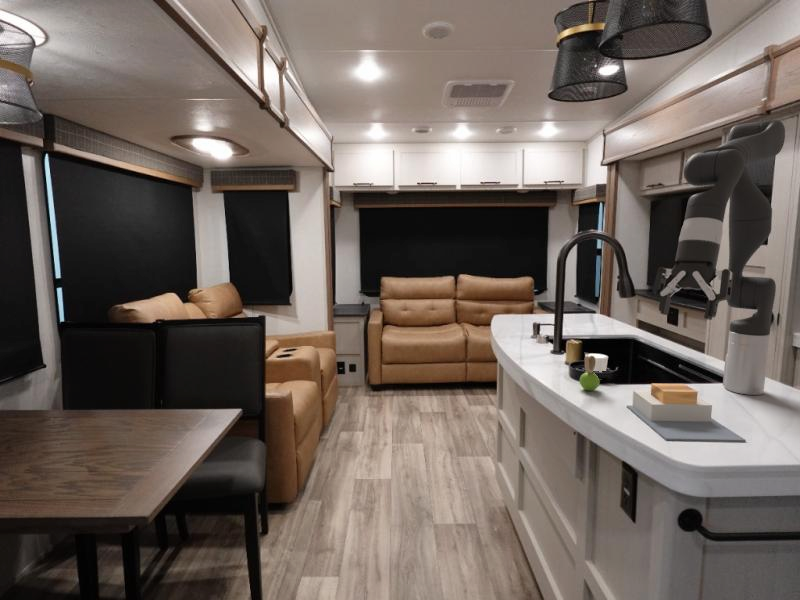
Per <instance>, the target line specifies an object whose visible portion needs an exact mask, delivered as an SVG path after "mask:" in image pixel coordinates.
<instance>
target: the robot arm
mask: <svg viewBox="0 0 800 600" xmlns="http://www.w3.org/2000/svg"><path fill="white" fill-rule="evenodd" d="M785 139H786V128H785V125H784V123H783V122H782V121H781V120H778V119H767V120H761V121H753V122H747V123H742V124H736V125H734V126H733V127H732V128H731V129H730V131H729V133H728V137H727V142H724V143H723V144H721V145H719V146H718V147H715V148H710V149H705V150H703V151H699V152H696V153H694V154H692V155H691V156H689V158H688V159H687V161H686V162H685V164H684V166H683V176H684V177H683V178H684V180H685V182H687V183H688V184H689V185H691V186H695V187H701V186H702V187H703V186H712V187H711V188H710V189H708V190H704V191H701V192H699V193H695V194H692V195H691V196H690V197H689V198H688V201H687V206H686V210H685V215H684V221H683V225H682V227H681V230H680V233H679V237H678V244H677V250H676V253H675V260H674V261H675V262H674V266H673V267H672V268H665V267H663V266H659V267H658V268H657V272H656V276H655V279H654V283H653V288H652V293H654V294H657V295H658V296H660V300H659V304H658V305H659V306H658V310H659V312H660V314H661V315H664V316H668V315H669V312H670V307H671V302H672V299H671V297H672V296H674V294H675V293H677V292H679V291H680V290H681V289H684V290H695V291H701V290H702V291H703V292H704V294H705V295H706V297H707V298H708V300H707V301H706V305H705V310H704V314H703V315H704V316H703V317H704V320H708V321H712V320H713V318H716V316H717V312H718V306H719V303H720V302H722V301H726V302H727V303H726V304H727V305H728V306H729V307H731V308H734V309H746V310H755V311H756V313H755V314H754V315H752V316H748V317H746V318H742V319H735V320H733V321H731V322H730V323H729V330H728V331H729V332H728V345H727V354H725V360H724V366H723V367H724V368H723V369H724V370H723V371H724V372H723V378H722V385H723V386H724V388H725V389H726V390H728V391H730V392H733V393H736V394H737V393H738V394H742V395H747V396H748V395H749V396H761V395H764V393H765V384H766V375H767V374H766V373H767V363H768V358H769V357H768V356H769V344H770V333H771V324H772V318H773V317H772V315H773V309H774V303H775V298H776V293H777V292H776V290H777V289H776V287H777V286H776V285H777V284H776V281H775V280H774V279H773V278H772V277H763V276H761V277H760V276H759V277H758V276H744V275H743V272H744V268H745V266H746V264H747V263H748V262H749V261H750V259H751V258H752V257H753V255H754V254H755V253H756V252H757V250H758V249H759V248H760V247H762V245H763V244H764V243H765V241H767V239H768V237H769V236H770V235H771V233H772V219H773V208H772V207H773V206H772V204H771V202H770V201H769V200H768V199H767V197H766V196H765V195H764V194H763V192H762V191H761V190H760V189H759V187H758V186H757V184H756V183H755V182H754V181H753V180H752V178H751V175H750V172H749V169H748V165H750V164H753V163H755V162H758V161H760V160H764V159H765V160H766V159H769V158H773V157H776V156H777V155H778V154H779V153H780V152H782V149H783V147H784V144H785ZM728 202H729V207H728V208H729V209H728V210H729V211H728V246H729V247H728V251H729V252H728V253H729V254H728V255H729V256H728V257H729V258H728V268H724V269H722V270H717V264H718V259H719V253H720V248H721V244H722V237H723V233H724V232H723V230H724V229H723V226H724V219H725V214H726V210H727V209H726V208H727V205H728ZM670 275H671V276H672V277H673V278H672V280H671V281H670V282H669V283H666V282H667V279H668V278H669V277H670ZM716 277H717V279H718V280H719V281H720V286H719V293H717V292H716V290H715V288H714V287H713V285H712V283H711V282H712V281H713V280H715V279H716ZM666 284H667V285H666ZM665 286H666V287H665Z"/></svg>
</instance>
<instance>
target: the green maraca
mask: <svg viewBox="0 0 800 600" xmlns="http://www.w3.org/2000/svg"><path fill="white" fill-rule="evenodd" d="M586 354H587V356H586V357H585V355H586ZM588 354H589V352H584V370H585V372H584V373H582V374H581V375H580V377H579V384H580V387H582V389H583V390H585V391H590V392H591V391H594V390H596V389H598V388H599V385H600V382H601V381H600V379H599V378H598V376H597V375H596V374H595V373H592V372H593V370H594V367H595V362H596V361H595V357H594V356H589V357H588Z"/></svg>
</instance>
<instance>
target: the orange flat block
mask: <svg viewBox="0 0 800 600" xmlns="http://www.w3.org/2000/svg"><path fill="white" fill-rule="evenodd" d="M650 391H651V395H652V396H653V397H655V398H656V399H657V400H659V401H660V402H662V403H686V404H697V397H698V393H699V391H697V390H696V389H693V388H692V387H690V386H688V385H686V384H685V383H651V386H650Z"/></svg>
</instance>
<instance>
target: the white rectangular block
mask: <svg viewBox="0 0 800 600" xmlns="http://www.w3.org/2000/svg"><path fill="white" fill-rule="evenodd" d="M632 406H634V407H635V408H636V409H637V410H639V411H640V412H641V413H642V414H643V415H645V416H646V417H647V418H648V419H649V420H651V421H703V422H711V418H712V412H713V411H712V410H713V404H711V403H710V402H707V401H706V400H704V399H703V398H701V397H699V396H697V404H686V403H662V402H660V401H659V400H657V399H656V398H655V397H653V396H652V395H651V390H633V392H632Z"/></svg>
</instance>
